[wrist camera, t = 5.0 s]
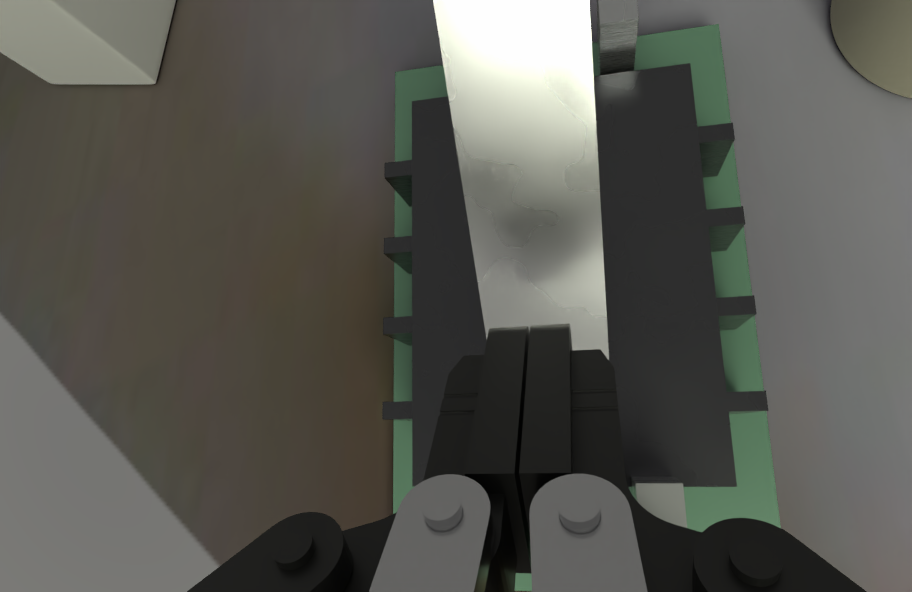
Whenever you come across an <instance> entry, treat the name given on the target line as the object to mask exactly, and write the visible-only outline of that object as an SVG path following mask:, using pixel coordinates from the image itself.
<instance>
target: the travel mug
mask: <svg viewBox="0 0 912 592" xmlns="http://www.w3.org/2000/svg"><path fill="white" fill-rule="evenodd" d="M830 18H831V27H832V31H833V35H834V38H835V40H836V43H837V45H838V47H839V49H840V51H841V52H842V54H843V55H844V57H845V58H846V60H847V61H848V62H849V63H850V64H851V66H852V67H853V68H855V69H856V70H857V71H858V72H859V73H860V74H861V75H862V76H864V77H865V78H866V79H868V80H869V81H871V82H872V83H874V84H875V85H877V86H879V87H881V88H883V89H885V90H887V91H890V92H892V93H895V94H898V95H901V96H904V97H908V98H912V0H832V2H831V11H830Z"/></svg>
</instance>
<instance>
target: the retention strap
mask: <svg viewBox="0 0 912 592" xmlns="http://www.w3.org/2000/svg"><path fill="white" fill-rule="evenodd" d="M433 3H434V9H435V15H436V22H437V28H438V34H439V41H440V47H441V53H442V60H443V66H444V72H445V79H446V85H447V91H448V98H449V104H450V110H451V117H452V123H453V129H454V136H455V142H456V149H457V155H458V161H459V168H460V174H461V180H462V187H463V193H464V199H465V206H466V212H467V218H468V225H469V231H470V237H471V244H472V250H473V256H474V263H475V269H476V275H477V282H478V288H479V294H480V301H481V307H482V313H483V320H484V326H485V332H486V339H487V337H488V331H489V329H490V328H500V327H518V326H528V327H529V331H530V327H531V326H533V325H551V324H568V323H570V330H571V340H572V350H593V349H600V350H601V351H602V352H603V353H604V355H605V356H606V357H607V359H608V360H609V348H608V330H607V312H606V293H605V275H604V257H603V239H602V220H601V202H600V184H599V166H598V148H597V129H596V111H595V93H594V75H593V56H592V38H591V20H590V2H589V0H433Z"/></svg>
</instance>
